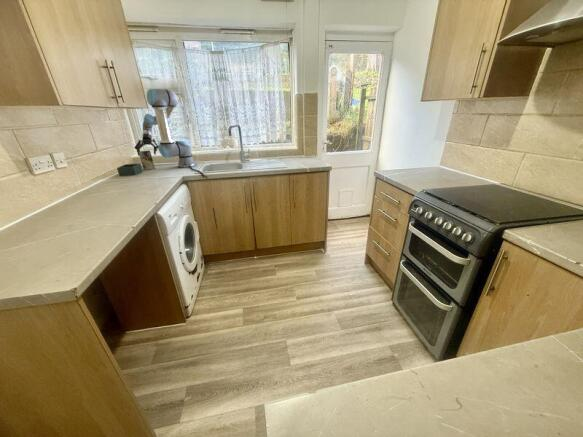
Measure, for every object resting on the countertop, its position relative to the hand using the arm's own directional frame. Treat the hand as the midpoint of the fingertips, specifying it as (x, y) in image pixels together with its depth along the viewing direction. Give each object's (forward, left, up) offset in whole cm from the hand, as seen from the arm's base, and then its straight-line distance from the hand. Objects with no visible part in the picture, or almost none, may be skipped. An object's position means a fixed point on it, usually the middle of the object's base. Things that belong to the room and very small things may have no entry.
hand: (146, 154), depth 224 cm
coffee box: (-4, +3, -13) cm, 13 cm away
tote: (-10, +20, -12) cm, 25 cm away
